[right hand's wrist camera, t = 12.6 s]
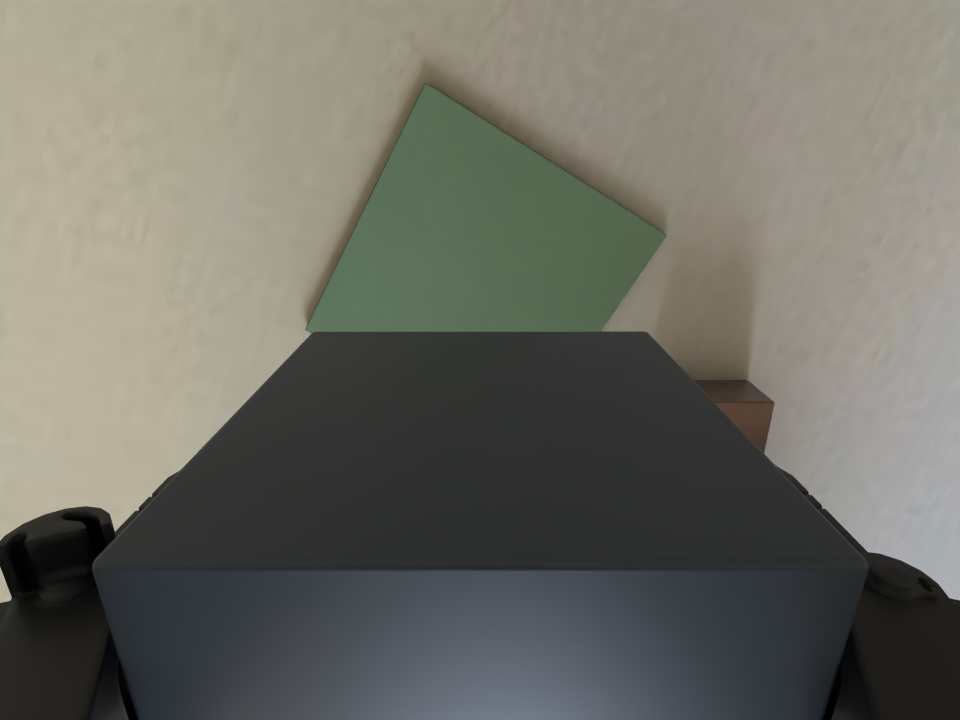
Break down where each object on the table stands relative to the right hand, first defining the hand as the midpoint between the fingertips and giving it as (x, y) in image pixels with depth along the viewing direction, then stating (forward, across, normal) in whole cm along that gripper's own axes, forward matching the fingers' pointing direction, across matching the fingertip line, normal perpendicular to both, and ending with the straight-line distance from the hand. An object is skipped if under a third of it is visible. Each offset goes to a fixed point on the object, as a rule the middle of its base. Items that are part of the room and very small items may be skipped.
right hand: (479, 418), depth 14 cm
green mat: (+16, 0, 0) cm, 16 cm away
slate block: (0, 0, 0) cm, 0 cm away
